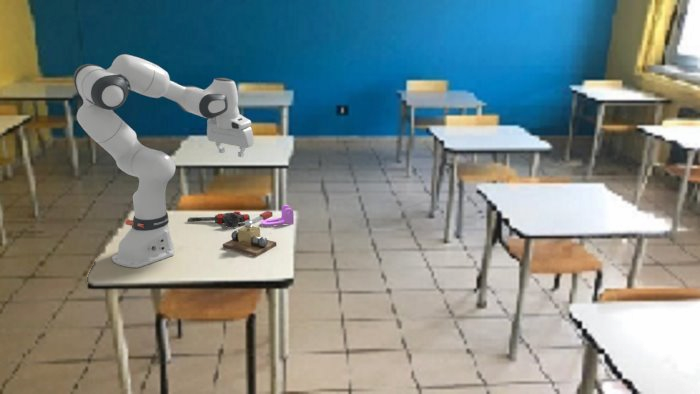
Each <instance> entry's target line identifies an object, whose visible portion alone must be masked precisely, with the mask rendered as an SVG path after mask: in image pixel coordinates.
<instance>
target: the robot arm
mask: <svg viewBox="0 0 700 394" xmlns="http://www.w3.org/2000/svg"><path fill="white" fill-rule="evenodd" d="M170 78H171V77H170V75H169V73H168V71H166V70H165V69H164V68H162V67H160V66H159V65H158V64H155V63H153V62H151V61H148V60H146V59H144V58H141V57H138V56H134V55H130V54H127V53H126V54H125V53H124V54H120V55H118V56H117V57H116V58H115V59H113V62H112V63H111V66H109V68H106V69H105V68H103V67H101V66H99V65H98V64H94V63H92V64H91V63H86V64H82V65H80V66H78V67H77V69H76V70H75V72H74V74H73V83H74V87H75V90H76V92H77V96H78V99H79V100H81V101H82V102H83V103H82V105H81V106H80V107H79V108H78V110H77V112H76V121H77V122H78V124H79V125H80V126H81V128H82V130H84V132H85V133H86V134H87V135H88V136H89V137H90V138H91V139H92V140H94V142H96V143H97V144H98V145H99V146H100V147H101V148H102V149H104V150H105V151H106V152H107V153H108V154H110V156H111V157H112V158H113V160H115V163H116V166H117V168H118V169H120V170H121V171H122V172H124V173H125V174H127V175H129V176H132V177H136V178H138V181H139V182H138V188H137V190H136V191H134V193H133V195H132V203H133V212H134V215H133V219H126V220H125V225H127V226H130V227H131V228H130V229H129V230H128V232H127V233H126V234H125V236H124V237H123V238H122V239H121V240H120V241H119V243H118V247H117V249H118V250H117V251H118V253H116V254H114V255H112V257H111V260H112V262H113V263H114V264H117V265H119V266H122V267H127V268H137V269H138V268H141V267H144V266H147V265H150V264H152V263H155V262H159V261H161V260H163V259H167V258H171V257H172V256H174V255H175V252H174V251H175V245H174V243H173V240H172V238H171V233H170V230H169V215H168V211H167V203H166V201H167V200H166V191H167V190H166V189H167V184H168V182H169V181H170V180H171V179H172V178H173V177H174V175H175V173H176V170H177V169H176V162H175V160H174V158H173V157H172V156H170V155H168V154H167V153H165V152H164V151H161V150H157V149H154V148H149V147H147V146H146V145H143V144H142V143H141V142H140V141H139V140H138V137H137V133H136V131H135V130H133V128H131V126H129V124H127V123H126V122H125V121H124V120H123V119H122V118H121V117H120V116H119V115H118V114H117V113H115V111H114V110H116V109H119V108H121V106H122V105H124V103H125V102H126V100H127V97H128V96H129V95H130V93H131V91H132V92H135V93H138V94H139V95H143V96H146V97H149V98H155V99H159V98H162V97H164V98H166V99H168V100H170V101H173V102H175V103H176V104H177V105H178V107H180V109H182V110H183V111H184V112H186V113H189V114H193V115H196V116H199V117H202V118H205V119H207V121H206V123H207V127H206V138H207V139H208V141H210V142H214V143H215V146H216V147H217V149H218V153H219V154H224V153H225V152H226V150H225V147H223V145H222V144H224V145H228V146H229V145H230V146H234V147H238V148H239V149H240V150H239V151H238V152H237V157H238V158H243V157H244V156H245V153H244V152H245V151H246V149H247V148H251V147H252V146H254V143H255V142H254V132H253V129H252V127H251V125H252V121H251V120H250V119H249V118H247V117H245V116H243V115H242V114H240V110H239V107H238V106H239V105H238V103H239V97H238V94H239V93H238V89H237V85H236V82H235V81H234V80H232V79H230V78H227V77H215V78H214V79H213V82H212V83H211V84H210V85H209V86H208V87H206V88H205V89H202V88H200V87H197V86H196V85H195V86H194V85H180V84H178V83H177V82H175V81H172V80H171V79H170Z"/></svg>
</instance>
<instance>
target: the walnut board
mask: <svg viewBox="0 0 700 394" xmlns="http://www.w3.org/2000/svg"><path fill="white" fill-rule="evenodd" d="M267 240H268V244H267V246H266V247H264V248H262V247H259V246H258V245H254V246H252V247H250V246H246V245H242V244H239V242H238V241H235V240H233V239H232V238H231V239H230V240H228V241H226V242H224V243H222V249H225V250H229V251H234V252H237V253H240V254H244V255H247V256H252V257H255V258H257V257H259V256H261V255H263V254H265V253H267V252H268V251H270V250H271V249H273V248H275V247H277V241H274V240H269V239H267Z"/></svg>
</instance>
